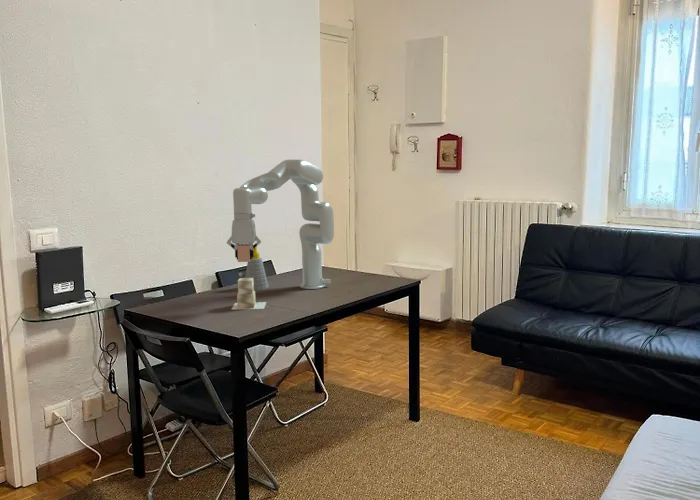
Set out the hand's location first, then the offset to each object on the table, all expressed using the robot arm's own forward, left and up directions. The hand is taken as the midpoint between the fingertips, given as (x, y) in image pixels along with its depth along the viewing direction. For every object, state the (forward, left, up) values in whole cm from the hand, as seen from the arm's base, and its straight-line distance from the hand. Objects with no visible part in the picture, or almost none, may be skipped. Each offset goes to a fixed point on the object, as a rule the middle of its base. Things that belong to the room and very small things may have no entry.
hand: (244, 258), depth 277 cm
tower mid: (0, 0, -15) cm, 15 cm away
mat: (-1, -1, -22) cm, 22 cm away
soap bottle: (0, -39, -22) cm, 45 cm away
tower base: (0, 0, -21) cm, 21 cm away
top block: (0, 0, -1) cm, 1 cm away
